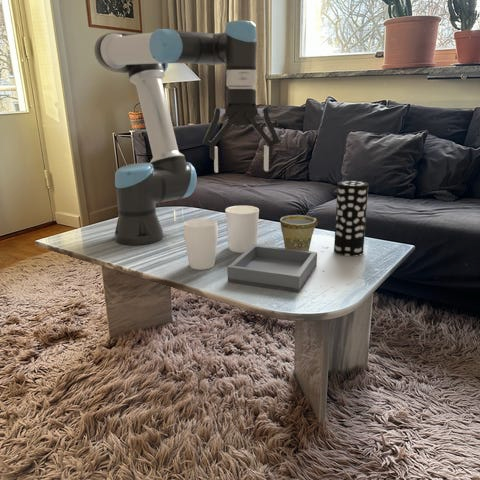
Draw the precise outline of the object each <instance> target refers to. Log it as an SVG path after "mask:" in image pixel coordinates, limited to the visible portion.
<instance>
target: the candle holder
mask: <svg viewBox="0 0 480 480" xmlns="http://www.w3.org/2000/svg"><path fill="white" fill-rule="evenodd" d="M224 211H225V219H226V231H227V232H226V233H227V235H226V236H227V246H228V250H229V251H231V252H233V253H239V254H240V253H241V254H243V253H244V252H245V251H246V250H248V249H249V248H250V247H251V246H252V245H258V244H257V243H258V228H259V215H260V214H259V213H260V209H259V208H258V207H256V206H253V205H233V206H228V207H226V208H225V209H224Z"/></svg>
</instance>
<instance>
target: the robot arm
mask: <svg viewBox="0 0 480 480" xmlns="http://www.w3.org/2000/svg"><path fill="white" fill-rule="evenodd" d="M256 26H257V25H256V24H255V23H254V22H253V21H250V20H231V21H228V22H227V23H226V24H225V31H224V32H221V33H212V32H211V33H210V32H209V33H208V32H198V31H188V30H187V31H186V30H178V29H172V28H157V29H154V31H153V32H146V33H140V34H139V33H136V34H135V33H124V32H108V33H107V32H106V33H104V34H102V35H100V36H99V37H98V38H97V40H96V42H95V44H94V48H93V49H94V50H93V51H94V52H93V53H94V56H95V59H96V61H97V63H99V65H100V66H101V67H102V68H104V69H106V70H107V71H110V72H113V73H121V74H122V73H125V74H128V78H129V82H130V83H132V84H133V85H135V87H136V91H137V96H138V100H139V104H140V108H141V112H142V113H141V114H142V117H143V121H144V124H145V129H146V134H147V137H148V141H149V142H148V143H149V146H150V150H151V154H152V159H150V162H139V163H137V162H136V163H130V164H126V165H123V166H120V167H119V168H118V169H117V170H116V171H115V175H114V186H115V192H116V201H117V202H116V204H117V209H118V210H117V213H118V217H117V218H118V219H117V222H116V226H115V230H114V238H115V239H114V240H115V242H116V243H118V244H121V245H127V246H128V245H129V246H139V245H140V246H141V245H148V244H151V243H152V244H153V243H156V242H159V241H161V240H162V239H163V238H164V230H163V227H162V225H161V223H160V220H159V218H158V215H157V207H156V204H158V203H164V202H169V201H170V202H171V201H175V200H177V201H180V200H182V199H185V198H188V197H189V196H191V195H192V194H194V191H195V190H196V189H195V188H196V186H197V172H196V169H195V167H194V166H193V164H192V163H191V162H188V161H186V157H185V155H184V154H183V153H181V152H180V150H179V148H178V147H179V146H178V144H177V139H176V134H175V131H174V126H173V123H172V117H171V114H170V109H169V105H168V100H167V96H166V92H165V89H164V88H165V87H164V85H163V79H164V77H165V76H166V72H167V69H168V67H169V64H190V65H192V64H194V65H204V66H212V67H213V66H216V65H218V66H219V65H226V68H225V69H226V87H227V88H228V89H227V90H226V108H225V109H224V108H219V107H215V108H214V113H213V118H212V121H211V122H210V125H209V127H208V129H207V131H206V133H205V135H204V137H203V140H202V144H203V145H205V146H208V147H209V158H210V160H213V161H214V162H213V167H214V168H213V169H214V173H219V154H218V153H219V148H218V146H216V145H217V144H218V142H220V140H221V139H222V138H223V137H224V135H225V134H226V133H227V131H229V129H230V128H231V127H232V126H235V127H240V126H245V127H247V126H250V125H251V126H252V128H253V129H254V130H255V131H256V133H257V134H258V135H259V136H260V137H261V139H262V140H263V141H264V142H265V143H266V145H263V170H264V171H265V172H269V166H270V165H269V163H270V162H269V159H272V158H273V151H274V149H273V147H274V146H275V145H278V144H280V138H279V137H278V134H277V132H276V129H275V128H274V126H273V123H272V121H271V119H270V117H269V116H270V114H269V109H268V107H262V108H258V107H257V91H256V89H255V87H257V42H258V39H257V27H256ZM223 115H225V116H226V117H227V118H228V119H227V120H226V122H225V123H224V124H223V126H222V127H221V128H220V130H219V131H218V132H217V133H216V134H215V135H214V136H213V138H212V139H211V137H212V135H213V132H215V130H216V127H217V124H218V123H219V120H220V118H221V117H223ZM258 115H260V117H261V118H262V119H263V121H264V124H265V125H266V126H265V127H266V128H267V130H268V132H269V134H270V137H271V139H270V138H269V136H268V135H267V134H266V132H265V131H264V129H262V128H261V126H260V124H259V123H258V122H257V121H256V119H255V118H256V116H258ZM210 139H211V140H210Z"/></svg>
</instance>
